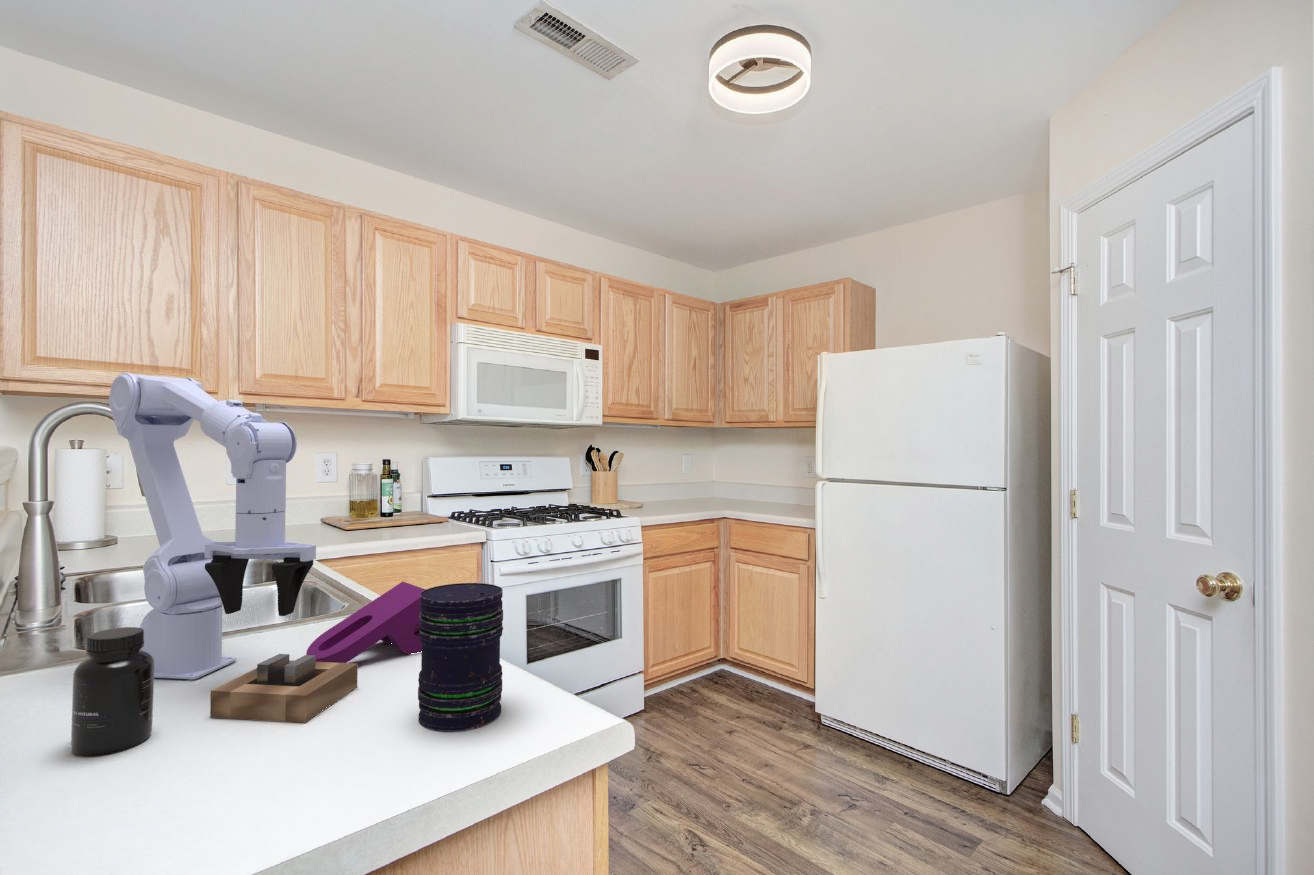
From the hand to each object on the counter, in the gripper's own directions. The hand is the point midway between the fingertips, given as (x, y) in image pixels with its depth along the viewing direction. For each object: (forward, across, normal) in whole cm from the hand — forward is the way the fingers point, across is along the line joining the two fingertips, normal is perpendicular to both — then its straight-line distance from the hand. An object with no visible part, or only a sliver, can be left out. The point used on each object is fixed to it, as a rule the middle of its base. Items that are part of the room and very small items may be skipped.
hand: (259, 613), depth 87 cm
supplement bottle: (+10, -4, -16) cm, 20 cm away
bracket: (+10, +7, -4) cm, 13 cm away
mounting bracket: (+10, +8, +15) cm, 20 cm away
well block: (+10, +7, -4) cm, 13 cm away
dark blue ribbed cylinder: (+10, +30, -5) cm, 32 cm away
